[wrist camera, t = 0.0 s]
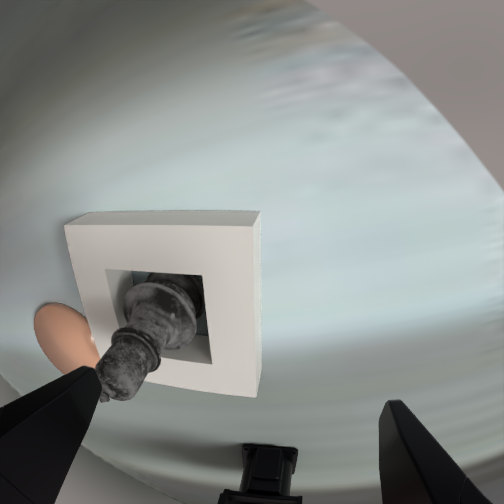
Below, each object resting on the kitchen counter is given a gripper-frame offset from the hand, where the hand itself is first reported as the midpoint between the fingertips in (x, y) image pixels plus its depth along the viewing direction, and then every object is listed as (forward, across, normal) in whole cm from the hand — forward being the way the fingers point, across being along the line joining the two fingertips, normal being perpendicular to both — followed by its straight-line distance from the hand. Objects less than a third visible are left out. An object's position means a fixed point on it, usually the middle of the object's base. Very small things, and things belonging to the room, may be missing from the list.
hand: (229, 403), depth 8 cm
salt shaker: (+15, +8, +5) cm, 18 cm away
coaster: (+15, +22, +14) cm, 30 cm away
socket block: (+15, +8, +5) cm, 18 cm away
